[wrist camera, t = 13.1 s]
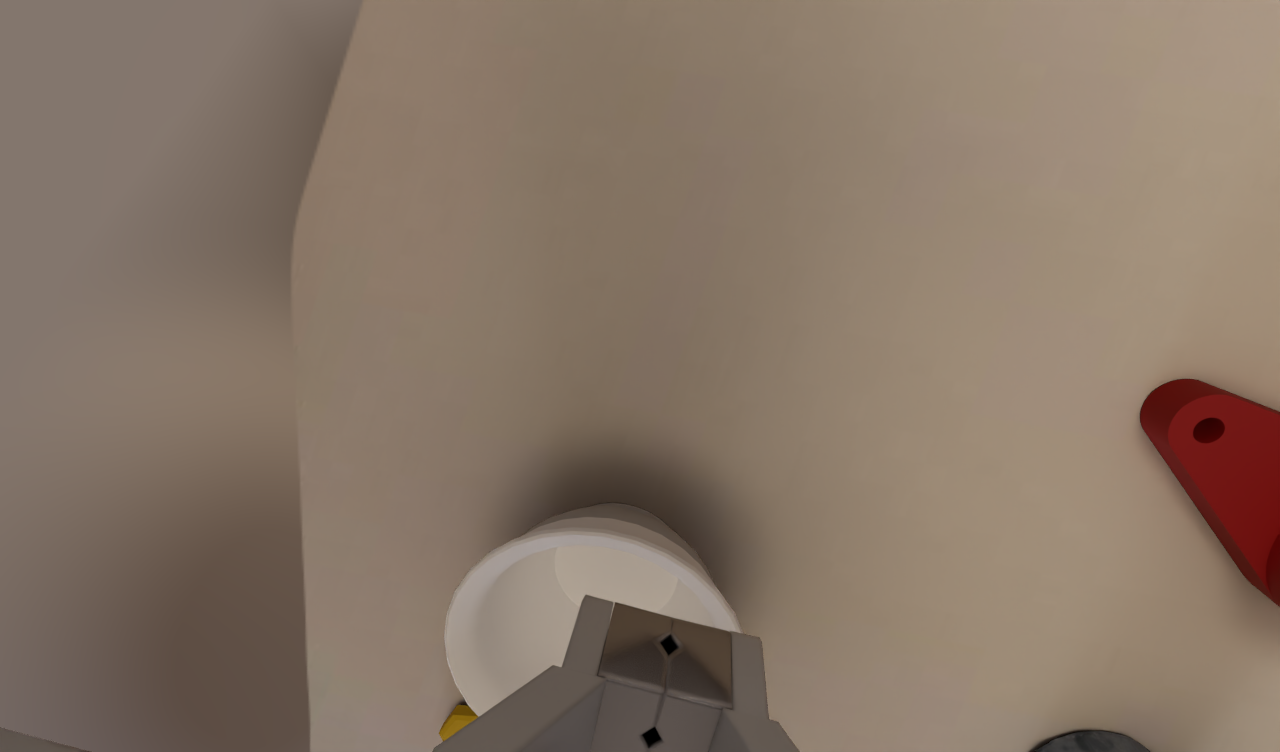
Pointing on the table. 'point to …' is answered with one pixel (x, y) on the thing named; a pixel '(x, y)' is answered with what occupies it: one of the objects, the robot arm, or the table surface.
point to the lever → (1225, 469)
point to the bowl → (568, 594)
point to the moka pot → (1093, 743)
